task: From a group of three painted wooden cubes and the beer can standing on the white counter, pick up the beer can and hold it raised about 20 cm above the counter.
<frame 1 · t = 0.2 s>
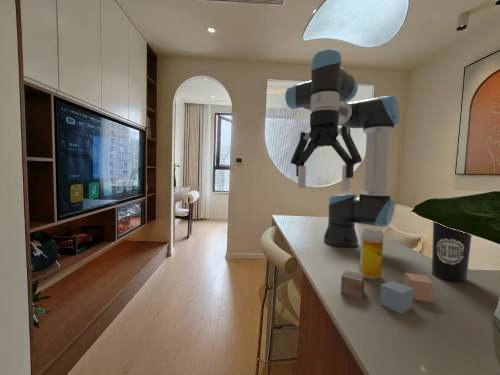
hand: (321, 189, 66), 28 cm above the table, fingers open, 13 cm apart
walnut cube: (352, 293, 64), on the table
water bottle: (448, 277, 76), on the table
terracotta cube: (417, 296, 63), on the table
beer can: (370, 276, 75), on the table
slate blue cube: (395, 306, 58), on the table
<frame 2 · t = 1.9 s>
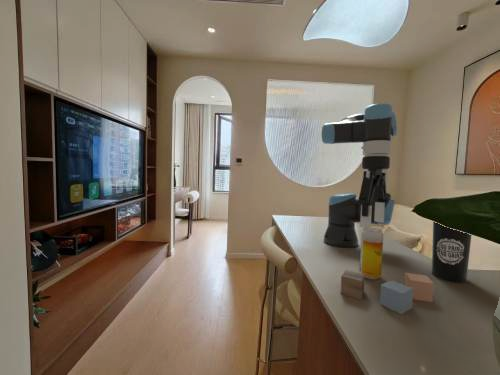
hand: (372, 224, 74), 17 cm above the table, fingers open, 13 cm apart
nothing on the table moved.
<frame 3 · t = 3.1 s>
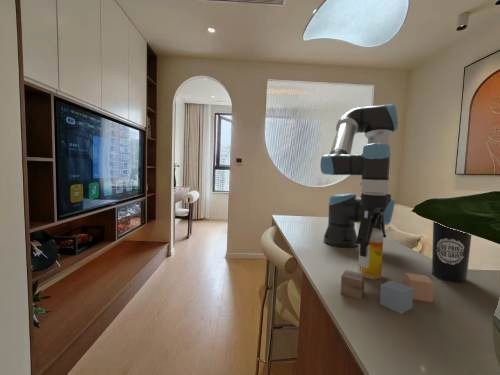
hand: (370, 261, 74), 5 cm above the table, fingers open, 13 cm apart
nothing on the table moved.
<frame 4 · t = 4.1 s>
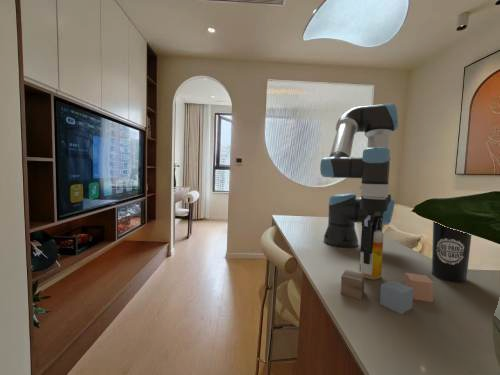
hand: (370, 270, 75), 2 cm above the table, fingers closed on beer can, 6 cm apart
beer can: (370, 276, 75), on the table, touching gripper
everything else where it was.
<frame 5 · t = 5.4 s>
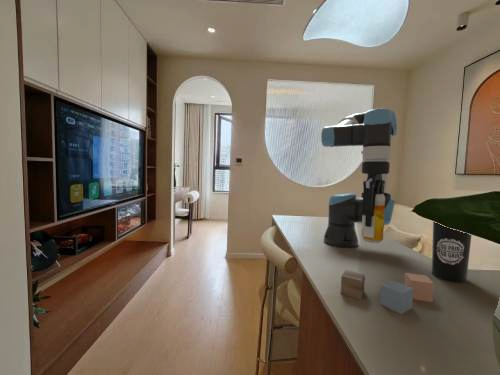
hand: (372, 234, 75), 13 cm above the table, fingers closed on beer can, 6 cm apart
beer can: (371, 241, 75), point 11 cm above the table, touching gripper
everything else where it was.
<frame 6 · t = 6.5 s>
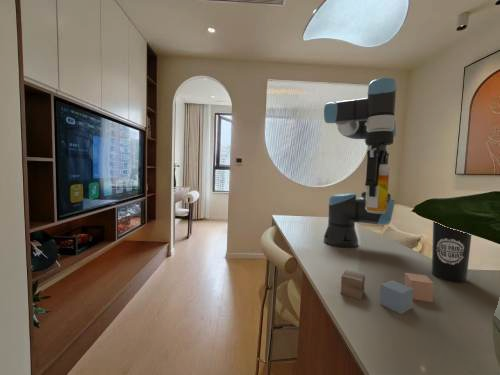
hand: (376, 206, 74), 22 cm above the table, fingers closed on beer can, 6 cm apart
beer can: (375, 212, 74), point 20 cm above the table, touching gripper
everything else where it was.
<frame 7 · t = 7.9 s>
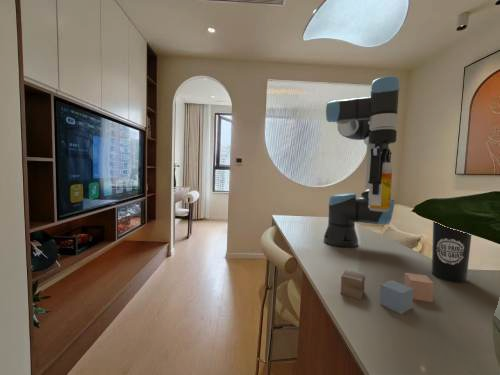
hand: (378, 204, 74), 23 cm above the table, fingers closed on beer can, 6 cm apart
beer can: (378, 211, 75), point 21 cm above the table, touching gripper
everything else where it was.
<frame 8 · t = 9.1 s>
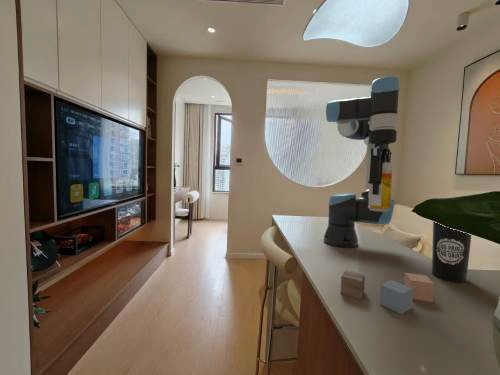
hand: (378, 204, 74), 23 cm above the table, fingers closed on beer can, 6 cm apart
beer can: (378, 211, 75), point 21 cm above the table, touching gripper
everything else where it was.
at the end: the gripper is holding beer can; beer can point 20.7 cm above the table; walnut cube moved 0.1 cm from its start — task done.
